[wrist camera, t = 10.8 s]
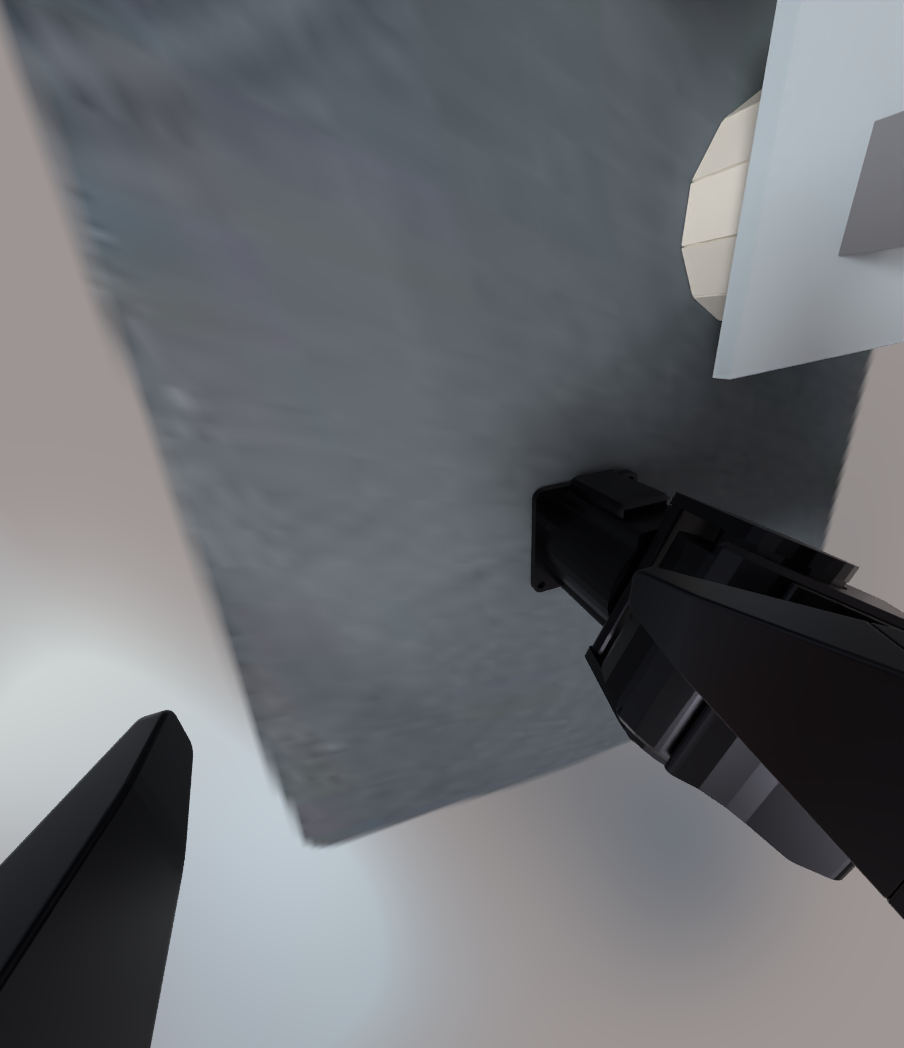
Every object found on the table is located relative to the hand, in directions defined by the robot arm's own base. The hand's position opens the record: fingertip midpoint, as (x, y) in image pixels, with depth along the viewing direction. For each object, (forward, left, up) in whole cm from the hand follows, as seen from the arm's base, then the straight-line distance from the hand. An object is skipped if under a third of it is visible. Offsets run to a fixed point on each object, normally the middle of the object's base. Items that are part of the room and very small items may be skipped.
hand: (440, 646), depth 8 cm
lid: (+9, -21, -8) cm, 24 cm away
